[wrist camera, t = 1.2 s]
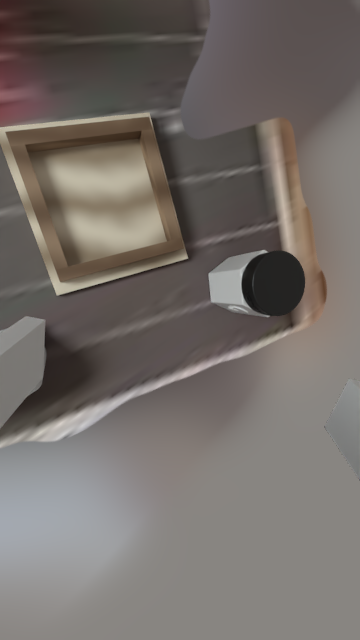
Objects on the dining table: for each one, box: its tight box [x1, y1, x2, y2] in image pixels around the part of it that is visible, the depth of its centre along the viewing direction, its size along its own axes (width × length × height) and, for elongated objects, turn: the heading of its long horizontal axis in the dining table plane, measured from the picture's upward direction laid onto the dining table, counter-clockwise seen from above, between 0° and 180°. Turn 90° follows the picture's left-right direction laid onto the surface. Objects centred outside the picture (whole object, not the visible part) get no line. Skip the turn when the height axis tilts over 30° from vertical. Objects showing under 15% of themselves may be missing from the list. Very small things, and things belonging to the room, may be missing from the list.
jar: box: [208, 250, 305, 317], centre depth 40 cm, size 9×8×12 cm
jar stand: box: [0, 113, 188, 296], centre depth 36 cm, size 20×19×3 cm
